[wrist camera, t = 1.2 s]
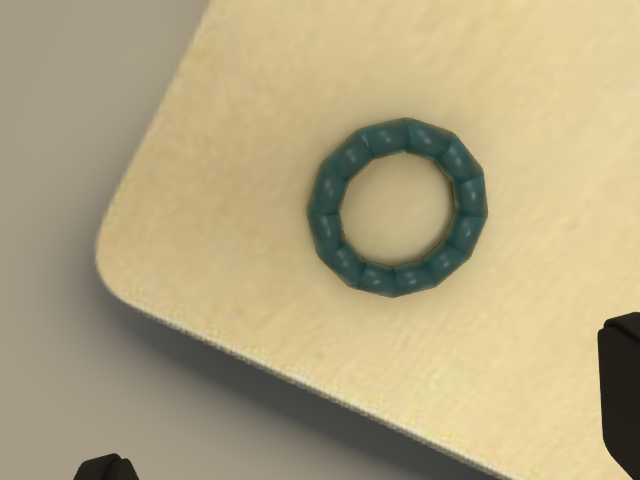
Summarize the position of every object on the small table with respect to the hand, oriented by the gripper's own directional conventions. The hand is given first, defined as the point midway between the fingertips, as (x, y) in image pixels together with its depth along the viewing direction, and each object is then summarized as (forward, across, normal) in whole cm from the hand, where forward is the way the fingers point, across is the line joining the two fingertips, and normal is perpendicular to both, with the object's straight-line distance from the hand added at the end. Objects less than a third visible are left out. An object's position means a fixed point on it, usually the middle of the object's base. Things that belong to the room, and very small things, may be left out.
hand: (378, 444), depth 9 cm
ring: (+13, -4, 0) cm, 13 cm away
